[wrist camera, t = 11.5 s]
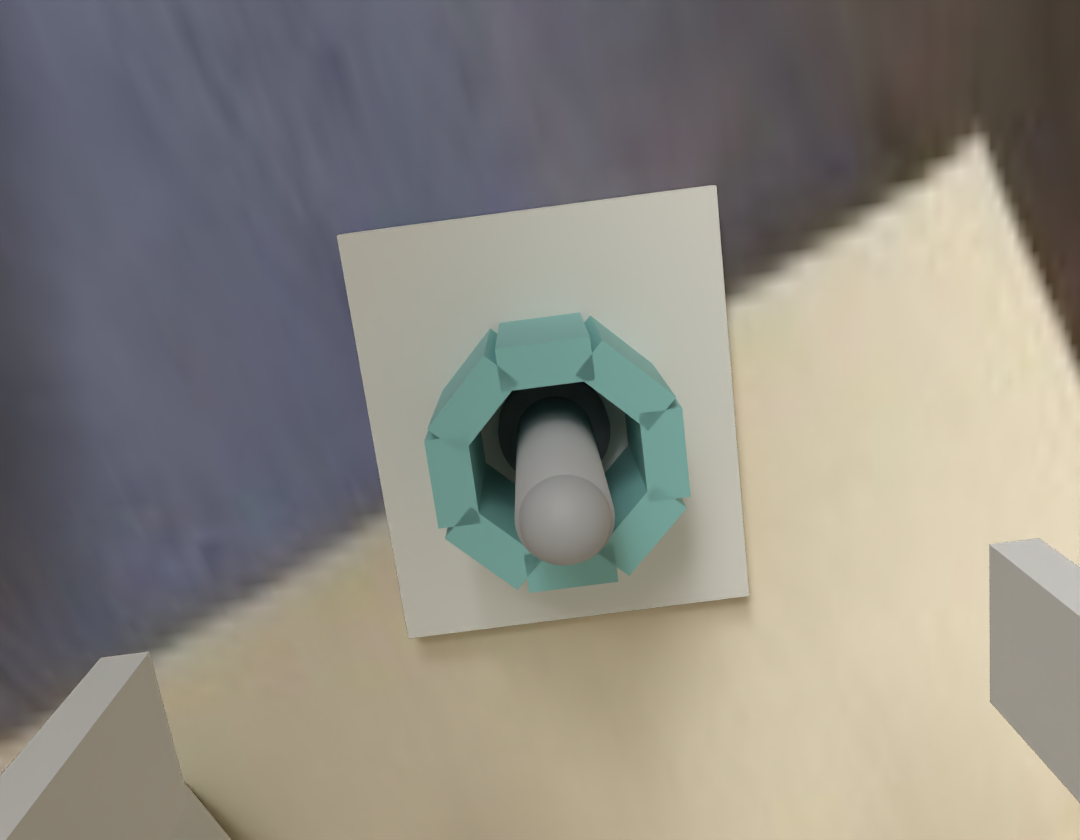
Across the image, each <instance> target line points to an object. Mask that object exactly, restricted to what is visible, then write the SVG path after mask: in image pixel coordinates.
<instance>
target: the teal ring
mask: <svg viewBox="0 0 1080 840" xmlns="http://www.w3.org/2000/svg"><path fill="white" fill-rule="evenodd" d="M583 381H584V382H585V383H587V384H588V385H589V386H591V387H592V388H593V389H595V390H596V391H597V392H599V393H600V394H601V395H602V396H604V397H605V398H606V399H608V400H609V401H610V402H612V403H613V404H614V405H616V406H617V407H618V408H620V409H621V410H622V411H624V412H625V418H626V427H627V436H628V445H627V447H626V448H625V449H624V450H623V452H622V453H621V454H620V455H619V456H618V458H617V459H616V460H615V461H614V462H613V464H612V465H611V466H610V467H609V469H608V470H607V471H606V472H605V477H606V481H607V484H608V488H609V491H610V495H611V499H612V502H613V506H614V511H615V524H614V529H613V532H612V535H611V537H610V539H609V541H608V542H607V544H606V545H605V547H604V548H603V549H602V550H601V551H600V552H599V553H597V554H596V555H595V556H594V557H592V558H590V559H589V560H586V561H584V562H581V563H578V564H574V565H555V564H550V563H547V562H544V561H542V560H540V559H538V558H537V557H535V556H534V555H532V554H531V553H530V552H529V551H528V550H527V549H526V548H525V547H524V545H523V544H522V543H521V541H520V539H519V537H518V534H517V532H516V527H515V486H516V484H515V483H513V482H512V481H510V480H509V479H508V478H506V477H505V476H504V475H502V474H501V473H499V472H498V471H497V470H495V469H494V468H493V467H491V466H490V465H488V464H487V463H486V461H485V454H484V447H483V440H482V434H481V430H482V428H483V427H484V426H485V425H486V423H487V422H488V421H489V419H490V418H491V417H492V416H493V414H494V413H495V412H496V410H497V409H498V408H499V407H500V405H501V404H502V403H503V401H504V400H505V399H506V398H507V396H508V395H509V394H510V393H511V391H513V390H521V389H529V388H536V387H544V386H552V385H560V384H568V383H575V382H583ZM427 430H428V432H427V435H426V437H425V440H424V444H425V450H426V456H427V462H428V468H429V474H430V480H431V486H432V493H433V499H434V505H435V511H436V517H437V523H438V529H440V528H447V532H446V536H445V539H446V540H447V541H449V542H450V543H452V544H453V545H454V546H456V547H457V548H459V549H460V550H461V551H463V552H464V553H466V554H467V555H469V556H470V557H471V558H473V559H474V560H476V561H477V562H478V563H480V564H481V565H483V566H484V567H486V568H487V569H488V570H490V571H491V572H493V573H494V574H495V575H497V576H498V577H500V578H501V579H503V580H504V581H505V582H507V583H508V584H510V585H511V586H512V587H514V588H515V589H517V590H518V589H519V588H520V586H521V585H522V584H523V583H524V582H525V580H526V579H527V580H528V587H529V593H533V592H541V591H549V590H557V589H565V588H573V587H581V586H589V585H597V584H605V583H613V582H618V573H617V568H619V569H620V570H622V571H623V572H624V573H626V574H627V575H629V576H630V575H631V573H632V572H633V571H634V570H635V569H636V567H637V566H638V565H639V564H640V563H641V562H642V560H643V559H644V558H645V557H646V556H647V555H648V553H649V552H650V551H651V550H652V549H653V547H654V546H655V545H656V544H657V543H658V542H659V540H660V539H661V538H662V537H663V536H664V535H665V533H666V532H667V531H668V530H669V529H670V527H671V526H672V525H673V524H674V523H675V522H676V520H677V519H678V518H679V517H680V516H681V515H682V513H683V512H684V511H685V510H686V509H687V507H686V505H685V503H684V501H683V499H682V498H685V497H691V495H690V485H689V474H688V463H687V453H686V442H685V431H684V421H683V410H682V407H681V405H680V404H679V403H678V401H677V400H676V396H675V395H674V393H673V392H672V390H671V389H670V388H669V386H668V385H667V383H666V382H665V381H664V379H663V378H662V376H661V375H660V374H659V372H658V371H657V369H656V368H655V367H654V365H653V364H652V363H651V362H650V361H648V360H647V359H646V358H644V357H643V356H642V355H641V354H639V353H638V352H637V351H635V350H634V349H633V348H632V347H630V346H629V345H628V344H626V343H625V342H624V341H623V340H621V339H620V338H619V337H617V336H616V335H615V334H614V333H612V332H611V331H610V330H608V329H607V328H606V327H605V326H603V325H602V324H601V323H599V322H598V321H597V320H596V319H594V318H593V317H592V316H589V317H588V319H587V320H586V321H585V322H583V319H582V317H581V315H580V312H579V313H571V314H563V315H556V316H548V317H540V318H533V319H525V320H517V321H509V322H502V323H499V328H498V334H497V333H496V332H494V331H493V330H492V329H489V330H488V332H487V333H486V334H485V336H484V337H483V338H482V339H481V341H480V342H479V343H478V345H477V346H476V347H475V349H474V350H473V351H472V353H471V354H470V355H469V356H468V358H467V359H466V360H465V362H464V363H463V364H462V366H461V367H460V368H459V370H458V371H457V372H456V374H455V375H454V376H453V377H452V379H451V380H450V381H449V383H448V384H447V385H446V387H445V388H444V389H443V391H442V393H441V395H440V398H439V400H438V403H437V405H436V408H435V411H434V413H433V416H432V418H431V421H430V423H429V426H428V428H427Z"/></svg>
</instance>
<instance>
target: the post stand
mask: <svg viewBox="0 0 1080 840" xmlns="http://www.w3.org/2000/svg"><path fill="white" fill-rule="evenodd" d="M337 240H338V246H339V252H340V257H341V263H342V269H343V274H344V280H345V285H346V291H347V297H348V302H349V308H350V313H351V319H352V325H353V330H354V336H355V342H356V347H357V353H358V358H359V364H360V370H361V375H362V381H363V386H364V392H365V398H366V403H367V409H368V415H369V420H370V426H371V431H372V437H373V443H374V448H375V454H376V459H377V465H378V471H379V476H380V482H381V488H382V493H383V499H384V504H385V510H386V516H387V521H388V527H389V532H390V538H391V544H392V549H393V555H394V561H395V566H396V572H397V577H398V583H399V589H400V594H401V600H402V605H403V611H404V617H405V622H406V628H407V634H408V639H409V638H417V637H425V636H433V635H441V634H449V633H457V632H465V631H473V630H481V629H489V628H497V627H505V626H513V625H521V624H529V623H537V622H545V621H553V620H561V619H569V618H577V617H585V616H593V615H601V614H609V613H617V612H625V611H633V610H641V609H649V608H657V607H665V606H673V605H681V604H689V603H697V602H705V601H713V600H721V599H729V598H737V597H745V596H749V588H748V576H747V563H746V551H745V538H744V526H743V513H742V501H741V488H740V476H739V463H738V451H737V438H736V426H735V413H734V401H733V388H732V375H731V363H730V350H729V338H728V325H727V313H726V300H725V288H724V275H723V263H722V250H721V238H720V225H719V213H718V200H717V188H716V185H708V186H700V187H693V188H685V189H678V190H670V191H662V192H655V193H647V194H640V195H632V196H624V197H617V198H609V199H602V200H594V201H587V202H579V203H571V204H564V205H556V206H549V207H541V208H533V209H526V210H518V211H511V212H503V213H496V214H488V215H480V216H473V217H465V218H458V219H450V220H442V221H435V222H427V223H420V224H412V225H405V226H397V227H389V228H382V229H374V230H367V231H359V232H351V233H344V234H340V235H337ZM579 312H580V315H581V317H582V319H583V322H585V321H586V320H587V319H588V317H589V316H592V317H593V318H594V319H596V320H597V321H598V322H599V323H601V324H602V325H603V326H605V327H606V328H607V329H608V330H610V331H611V332H612V333H614V334H615V335H616V336H617V337H619V338H620V339H621V340H623V341H624V342H625V343H626V344H628V345H629V346H630V347H632V348H633V349H634V350H635V351H637V352H638V353H639V354H641V355H642V356H643V357H644V358H646V359H647V360H648V361H650V362H651V363H652V364H653V365H654V367H655V368H656V369H657V371H658V372H659V374H660V375H661V376H662V378H663V379H664V381H665V382H666V383H667V385H668V386H669V388H670V389H671V390H672V392H673V393H674V395H675V396H676V400H677V401H678V403H679V404H680V405H681V407H682V410H683V421H684V431H685V442H686V453H687V463H688V474H689V485H690V495H691V497H685V498H682V499H683V501H684V503H685V505H686V507H687V509H686V510H685V511H684V512H683V513H682V515H681V516H680V517H679V518H678V519H677V520H676V522H675V523H674V524H673V525H672V526H671V527H670V529H669V530H668V531H667V532H666V533H665V535H664V536H663V537H662V538H661V539H660V540H659V542H658V543H657V544H656V545H655V546H654V547H653V549H652V550H651V551H650V552H649V553H648V555H647V556H646V557H645V558H644V559H643V560H642V562H641V563H640V564H639V565H638V566H637V567H636V569H635V570H634V571H633V572H632V573H631V575H630V576H629V575H627V574H626V573H624V572H623V571H622V570H620V569H619V568H617V573H618V582H613V583H605V584H597V585H589V586H581V587H573V588H565V589H557V590H549V591H541V592H533V593H529V587H528V580H527V579H526V580H525V582H524V583H523V584H522V585H521V586H520V588H519V589H518V590H517V589H515V588H514V587H512V586H511V585H510V584H508V583H507V582H505V581H504V580H503V579H501V578H500V577H498V576H497V575H495V574H494V573H493V572H491V571H490V570H488V569H487V568H486V567H484V566H483V565H481V564H480V563H478V562H477V561H476V560H474V559H473V558H471V557H470V556H469V555H467V554H466V553H464V552H463V551H461V550H460V549H459V548H457V547H456V546H454V545H453V544H452V543H450V542H449V541H447V540H446V539H445V536H446V532H447V528H440V529H438V523H437V517H436V511H435V505H434V499H433V493H432V486H431V480H430V474H429V468H428V462H427V456H426V450H425V444H424V440H425V437H426V435H427V432H428V430H427V428H428V426H429V423H430V421H431V418H432V416H433V413H434V411H435V408H436V405H437V403H438V400H439V398H440V395H441V393H442V391H443V389H444V388H445V387H446V385H447V384H448V383H449V381H450V380H451V379H452V377H453V376H454V375H455V374H456V372H457V371H458V370H459V368H460V367H461V366H462V364H463V363H464V362H465V360H466V359H467V358H468V356H469V355H470V354H471V353H472V351H473V350H474V349H475V347H476V346H477V345H478V343H479V342H480V341H481V339H482V338H483V337H484V336H485V334H486V333H487V332H488V330H489V329H492V330H493V331H494V332H496V333H497V334H498V328H499V323H502V322H509V321H517V320H525V319H533V318H540V317H548V316H556V315H563V314H571V313H579ZM481 434H482V440H483V447H484V454H485V461H486V463H487V464H488V465H490V466H491V467H493V468H494V469H495V470H497V471H498V472H499V473H501V474H502V475H504V476H505V477H506V478H508V479H509V480H510V481H512V482H513V483H515V484H516V486H515V527H516V532H517V534H518V537H519V539H520V541H521V543H522V544H523V545H524V547H525V548H526V549H527V550H528V551H529V552H530V553H531V554H532V555H534V556H535V557H537V558H538V559H540V560H542V561H544V562H547V563H550V564H555V565H574V564H578V563H581V562H584V561H586V560H589V559H590V558H592V557H594V556H595V555H596V554H597V553H599V552H600V551H601V550H602V549H603V548H604V547H605V545H606V544H607V542H608V541H609V539H610V537H611V535H612V532H613V529H614V524H615V511H614V506H613V502H612V499H611V495H610V491H609V488H608V484H607V481H606V477H605V472H606V471H607V470H608V469H609V467H610V466H611V465H612V464H613V462H614V461H615V460H616V459H617V458H618V456H619V455H620V454H621V453H622V452H623V450H624V449H625V448H626V447H627V445H628V436H627V427H626V418H625V412H624V411H622V410H621V409H620V408H618V407H617V406H616V405H614V404H613V403H612V402H610V401H609V400H608V399H606V398H605V397H604V396H602V395H601V394H600V393H599V392H597V391H596V390H595V389H593V388H592V387H591V386H589V385H588V384H587V383H585V382H584V381H583V382H575V383H568V384H560V385H552V386H544V387H536V388H529V389H521V390H513V391H511V393H510V394H509V395H508V396H507V398H506V399H505V400H504V401H503V403H502V404H501V405H500V407H499V408H498V409H497V410H496V412H495V413H494V414H493V416H492V417H491V418H490V419H489V421H488V422H487V423H486V425H485V426H484V427H483V428H482V430H481Z"/></svg>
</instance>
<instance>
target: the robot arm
mask: <svg viewBox="0 0 1080 840" xmlns="http://www.w3.org/2000/svg"><path fill="white" fill-rule="evenodd" d="M989 568H990V702H991V703H992V705H993V706H994V707H995V708H996V709H997V710H998V711H999V712H1000V714H1001V715H1002V716H1003V717H1004V718H1005V719H1006V720H1007V721H1008V723H1009V724H1010V725H1011V726H1012V727H1013V728H1014V729H1015V731H1016V732H1017V733H1018V734H1019V735H1020V736H1021V737H1022V738H1023V740H1024V741H1025V742H1026V743H1027V744H1028V745H1029V746H1030V747H1031V749H1032V750H1033V751H1034V752H1035V753H1036V754H1037V755H1038V756H1039V758H1040V759H1041V760H1042V761H1043V762H1044V763H1045V764H1046V766H1047V767H1048V768H1049V769H1050V770H1051V771H1052V772H1053V773H1054V775H1055V776H1056V777H1057V778H1058V779H1059V780H1060V781H1061V782H1062V784H1063V785H1064V786H1065V787H1066V788H1067V789H1068V790H1069V791H1070V793H1071V794H1072V795H1073V796H1074V797H1075V798H1076V799H1077V800H1078V802H1079V803H1080V567H1079V566H1078V565H1076V564H1075V563H1073V562H1072V561H1071V560H1069V559H1068V558H1066V557H1065V556H1064V555H1062V554H1061V553H1059V552H1058V551H1056V550H1055V549H1054V548H1052V547H1051V546H1049V545H1048V544H1047V543H1045V542H1044V541H1042V540H1041V539H1040V538H1036V539H1028V540H1020V541H1012V542H1004V543H996V544H989ZM188 803H189V801H188V797H187V793H186V790H185V786H184V782H183V778H182V774H181V770H180V767H179V763H178V759H177V755H176V751H175V748H174V744H173V740H172V736H171V732H170V728H169V725H168V721H167V717H166V713H165V709H164V706H163V702H162V698H161V694H160V690H159V686H158V683H157V679H156V675H155V671H154V667H153V664H152V660H151V656H150V652H142V653H134V654H126V655H118V656H110V657H102V658H100V659H99V660H98V662H97V663H96V664H95V665H94V666H93V667H92V669H91V670H90V671H89V672H88V673H87V674H86V676H85V677H84V678H83V679H82V680H81V682H80V683H79V684H78V685H77V686H76V687H75V689H74V690H73V691H72V692H71V693H70V694H69V696H68V697H67V698H66V699H65V700H64V701H63V703H62V704H61V705H60V706H59V707H58V709H57V710H56V711H55V712H54V713H53V714H52V716H51V717H50V718H49V719H48V720H47V721H46V723H45V724H44V725H43V726H42V727H41V728H40V730H39V731H38V732H37V733H36V734H35V736H34V737H33V738H32V739H31V740H30V741H29V743H28V744H27V745H26V746H25V747H24V748H23V750H22V751H21V752H20V753H19V754H18V755H17V757H16V758H15V759H14V760H13V761H12V763H11V764H10V765H9V766H8V767H7V768H6V770H5V771H4V772H3V773H2V774H1V775H0V840H170V838H171V836H172V834H173V832H174V830H175V828H176V826H177V824H178V822H179V821H180V819H181V817H182V815H183V813H184V811H185V809H186V807H187V805H188Z"/></svg>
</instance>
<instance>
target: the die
mask: <svg viewBox="0 0 1080 840" xmlns="http://www.w3.org/2000/svg"><path fill="white" fill-rule="evenodd" d="M184 786H185V790H186V793H187V797H188V801H189V803H188V805H187V807H186V809H185V811H184V813H183V815H182V817H181V819H180V821H179V822H178V824H177V826H176V828H175V830H174V832H173V834H172V836H171V838H170V840H231V839H230V837H229V836H228V835H227V834H226V832H225V831H224V830H223V829H222V828H221V826H220V825H219V824H218V823H217V821H216V820H215V819H214V818H213V817H212V815H211V814H210V813H209V812H208V810H207V809H206V808H205V807H204V806H203V804H202V803H201V802H200V801H199V799H198V798H197V797H196V796H195V794H194V793H193V792H192V791H191V790H190V788H189V787H188V786H187V785H186V783H185V782H184Z"/></svg>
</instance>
